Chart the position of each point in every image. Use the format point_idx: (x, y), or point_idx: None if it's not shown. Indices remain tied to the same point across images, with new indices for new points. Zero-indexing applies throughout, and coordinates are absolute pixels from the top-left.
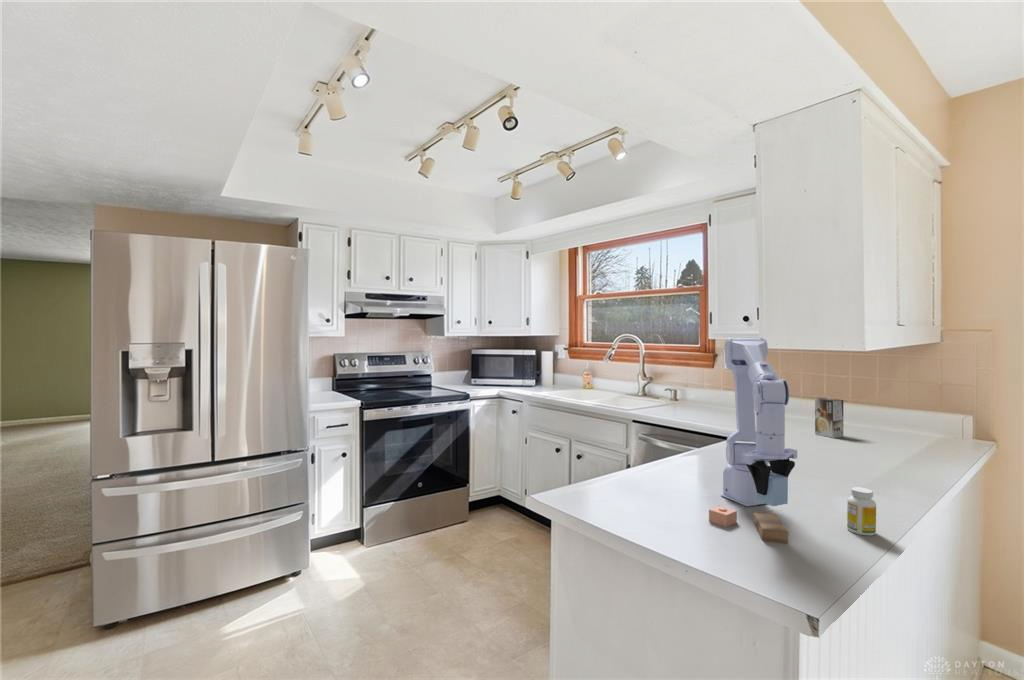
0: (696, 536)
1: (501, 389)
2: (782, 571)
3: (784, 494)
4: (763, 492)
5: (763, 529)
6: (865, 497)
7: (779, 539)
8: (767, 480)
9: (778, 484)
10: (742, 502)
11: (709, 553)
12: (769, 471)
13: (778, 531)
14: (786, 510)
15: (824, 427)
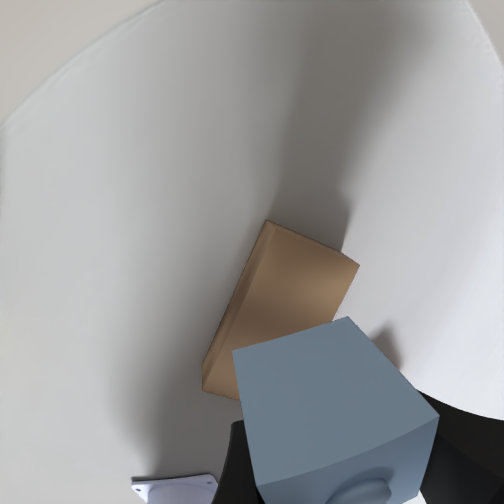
0: (473, 294)
1: None
2: (406, 56)
3: (267, 379)
4: None
5: (355, 263)
6: None
7: (295, 233)
8: (438, 421)
9: (358, 410)
10: (214, 487)
11: (497, 196)
12: (488, 457)
13: (308, 241)
14: (105, 445)
15: None
